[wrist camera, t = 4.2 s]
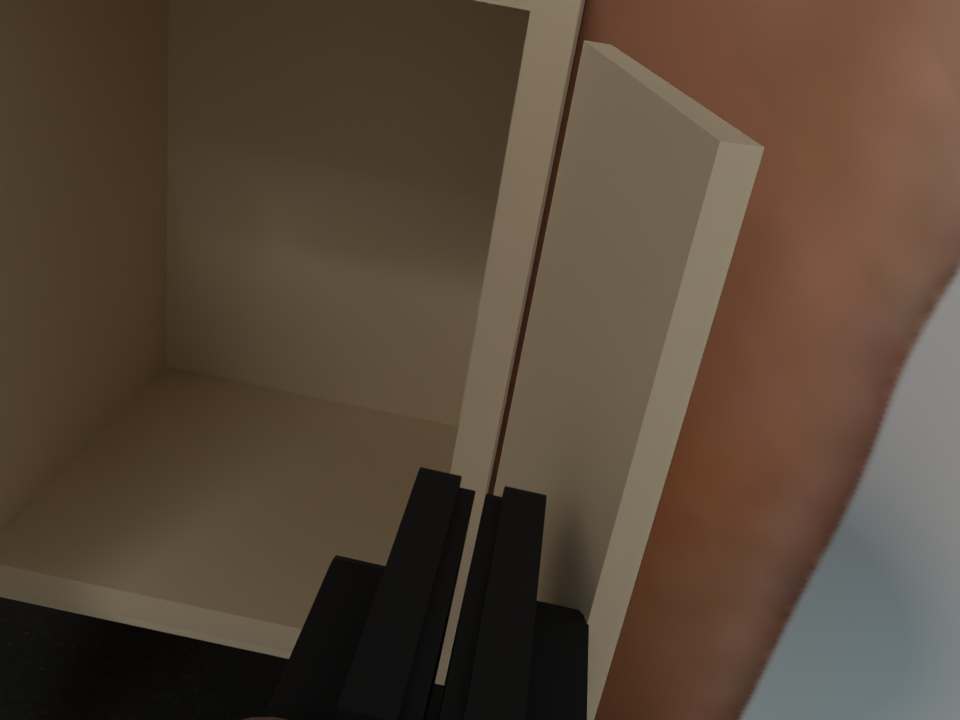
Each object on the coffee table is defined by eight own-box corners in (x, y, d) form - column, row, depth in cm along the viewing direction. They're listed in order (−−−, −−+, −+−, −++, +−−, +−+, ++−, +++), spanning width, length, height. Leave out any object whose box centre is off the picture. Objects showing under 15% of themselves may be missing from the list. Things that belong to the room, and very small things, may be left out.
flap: (720, 141, 8) (764, 147, 8) (584, 40, 13) (611, 43, 13) (486, 989, 13) (514, 989, 13) (456, 678, 18) (476, 679, 18)
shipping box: (152, -151, 22) (-154, -204, 13) (599, -71, 22) (595, -71, 13) (151, 388, 29) (-53, 596, 20) (495, 458, 28) (444, 703, 19)
